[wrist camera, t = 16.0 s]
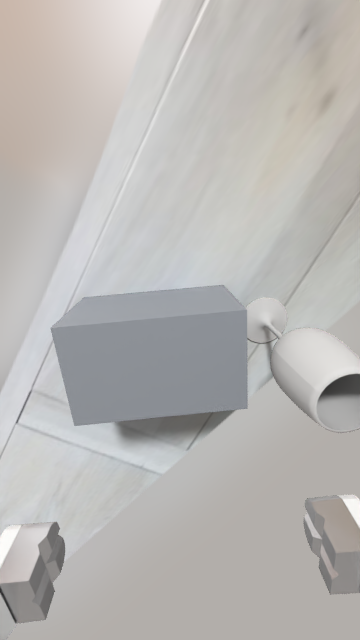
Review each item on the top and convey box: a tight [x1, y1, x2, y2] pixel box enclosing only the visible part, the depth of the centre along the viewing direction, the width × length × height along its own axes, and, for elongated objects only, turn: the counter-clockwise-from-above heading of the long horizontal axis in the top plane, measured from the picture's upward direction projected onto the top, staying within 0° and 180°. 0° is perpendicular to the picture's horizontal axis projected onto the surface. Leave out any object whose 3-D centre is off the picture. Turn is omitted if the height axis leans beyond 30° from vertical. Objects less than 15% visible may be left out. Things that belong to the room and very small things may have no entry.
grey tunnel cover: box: [51, 285, 247, 426], centre depth 37 cm, size 20×12×12 cm, turn 95°
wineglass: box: [246, 297, 360, 433], centre depth 33 cm, size 8×8×21 cm
